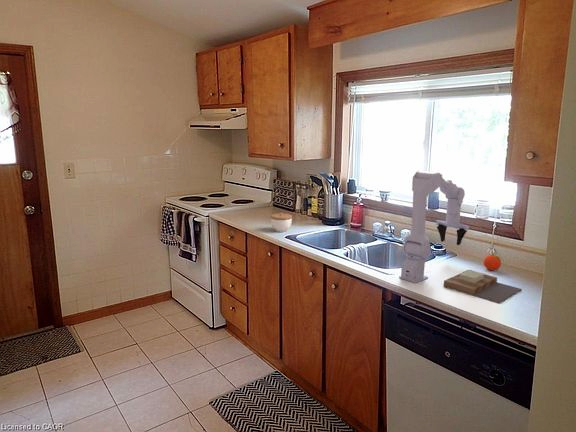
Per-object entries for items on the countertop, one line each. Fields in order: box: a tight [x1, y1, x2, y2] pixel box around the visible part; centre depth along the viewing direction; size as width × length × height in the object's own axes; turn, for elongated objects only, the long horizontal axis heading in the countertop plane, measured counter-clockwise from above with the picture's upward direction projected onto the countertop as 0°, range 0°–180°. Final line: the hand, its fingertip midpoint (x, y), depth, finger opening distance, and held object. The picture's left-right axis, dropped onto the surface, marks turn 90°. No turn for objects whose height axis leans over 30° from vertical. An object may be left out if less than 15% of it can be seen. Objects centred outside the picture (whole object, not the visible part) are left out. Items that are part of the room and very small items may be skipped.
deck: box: [443, 269, 498, 296], centre depth 169 cm, size 20×12×2 cm, turn 131°
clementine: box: [483, 254, 504, 272], centre depth 187 cm, size 8×7×7 cm
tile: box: [459, 269, 485, 283], centre depth 169 cm, size 8×6×2 cm
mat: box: [472, 281, 523, 304], centre depth 162 cm, size 20×10×1 cm, turn 131°
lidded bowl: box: [270, 211, 293, 233], centre depth 254 cm, size 13×13×11 cm
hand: (450, 242), depth 193 cm, fingers open, 7 cm apart
